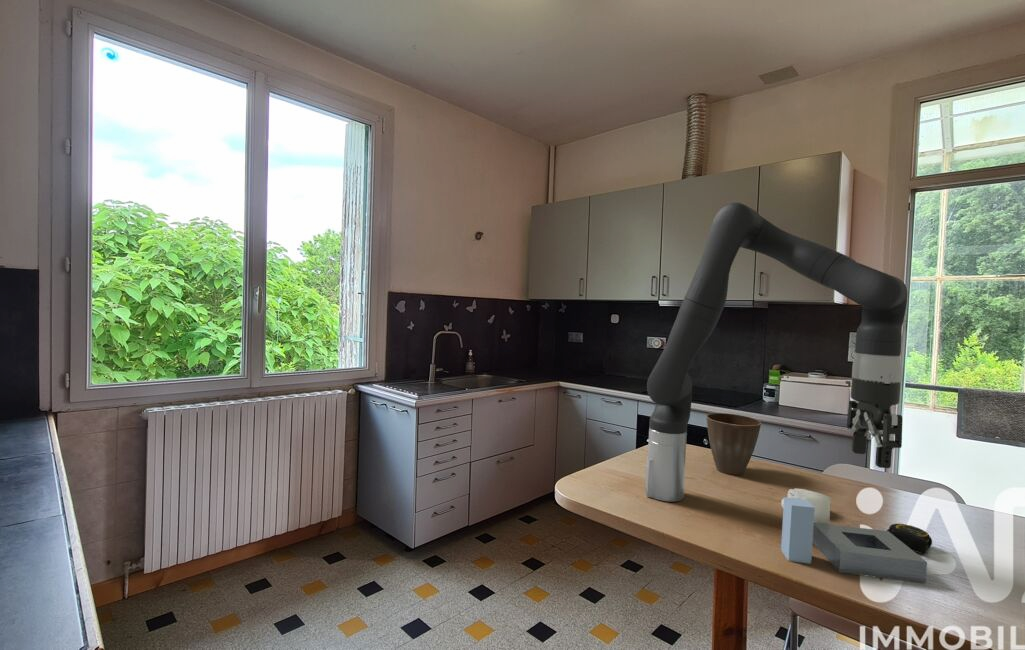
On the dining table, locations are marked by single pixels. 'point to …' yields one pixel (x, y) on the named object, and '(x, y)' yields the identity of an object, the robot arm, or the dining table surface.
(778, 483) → the dining table surface
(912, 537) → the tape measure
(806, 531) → the square bit
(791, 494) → the mechanical component
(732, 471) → the plant pot
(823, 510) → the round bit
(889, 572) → the socket block
